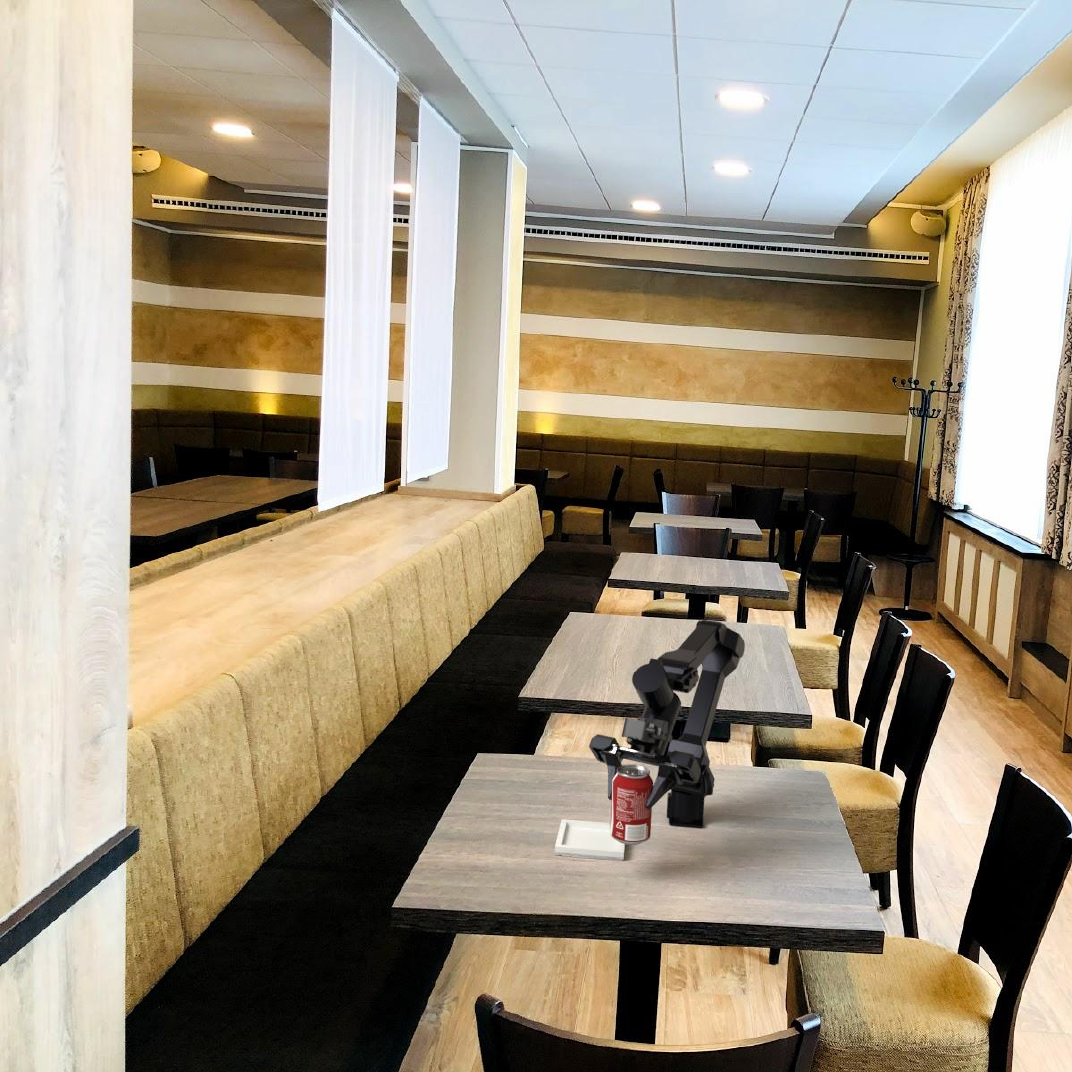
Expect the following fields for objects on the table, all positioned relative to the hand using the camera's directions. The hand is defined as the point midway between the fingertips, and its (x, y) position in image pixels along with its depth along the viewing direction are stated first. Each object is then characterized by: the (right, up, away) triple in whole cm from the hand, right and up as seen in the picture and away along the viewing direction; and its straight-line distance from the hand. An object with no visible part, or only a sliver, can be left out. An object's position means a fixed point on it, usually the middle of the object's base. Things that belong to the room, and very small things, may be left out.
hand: (628, 803), depth 183 cm
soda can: (0, -7, +2) cm, 7 cm away
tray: (-5, -11, +15) cm, 19 cm away
